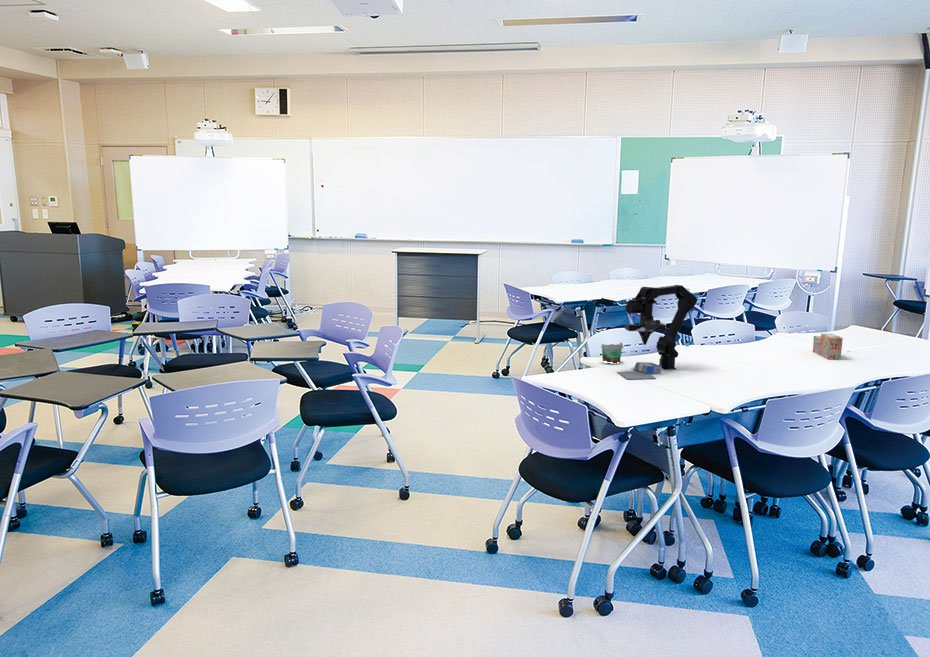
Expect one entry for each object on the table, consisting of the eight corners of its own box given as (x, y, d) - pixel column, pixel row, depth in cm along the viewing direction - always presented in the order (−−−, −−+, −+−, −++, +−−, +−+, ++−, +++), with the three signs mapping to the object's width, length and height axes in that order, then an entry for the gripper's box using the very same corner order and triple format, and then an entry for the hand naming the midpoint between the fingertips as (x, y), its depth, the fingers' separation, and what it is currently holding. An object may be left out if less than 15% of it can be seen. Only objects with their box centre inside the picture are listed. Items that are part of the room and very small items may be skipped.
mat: (644, 372, 313) (644, 371, 313) (656, 379, 299) (656, 378, 299) (616, 372, 311) (616, 371, 311) (627, 379, 298) (627, 378, 298)
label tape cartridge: (647, 365, 306) (631, 360, 318) (645, 373, 307) (630, 367, 318) (662, 365, 310) (645, 360, 321) (660, 373, 311) (644, 368, 322)
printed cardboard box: (812, 351, 363) (814, 330, 361) (823, 352, 363) (826, 330, 360) (828, 360, 342) (830, 337, 340) (840, 360, 342) (843, 337, 340)
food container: (607, 365, 326) (607, 346, 325) (600, 363, 332) (601, 344, 330) (627, 363, 331) (628, 344, 329) (620, 361, 337) (621, 342, 335)
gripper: (633, 315, 302) (632, 348, 305) (671, 315, 304) (669, 347, 307) (625, 312, 313) (623, 343, 316) (662, 311, 315) (660, 343, 318)
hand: (644, 344), depth 314 cm, fingers closed
